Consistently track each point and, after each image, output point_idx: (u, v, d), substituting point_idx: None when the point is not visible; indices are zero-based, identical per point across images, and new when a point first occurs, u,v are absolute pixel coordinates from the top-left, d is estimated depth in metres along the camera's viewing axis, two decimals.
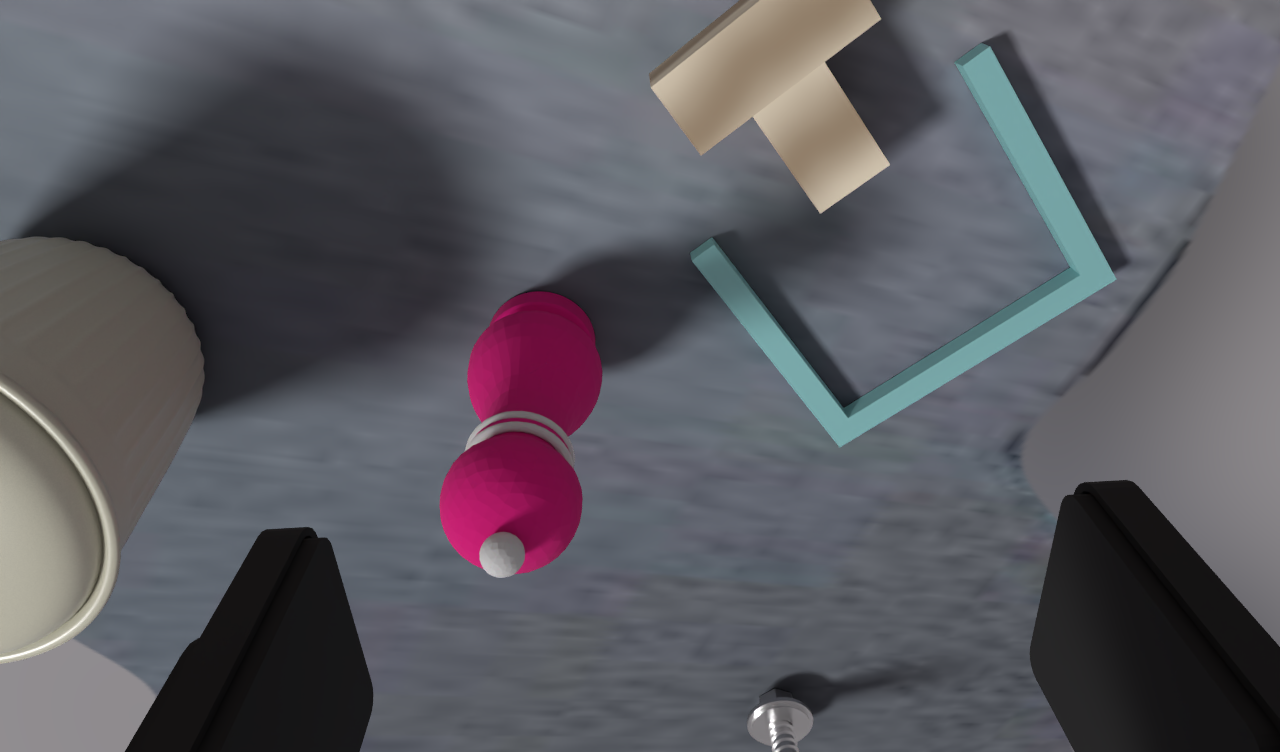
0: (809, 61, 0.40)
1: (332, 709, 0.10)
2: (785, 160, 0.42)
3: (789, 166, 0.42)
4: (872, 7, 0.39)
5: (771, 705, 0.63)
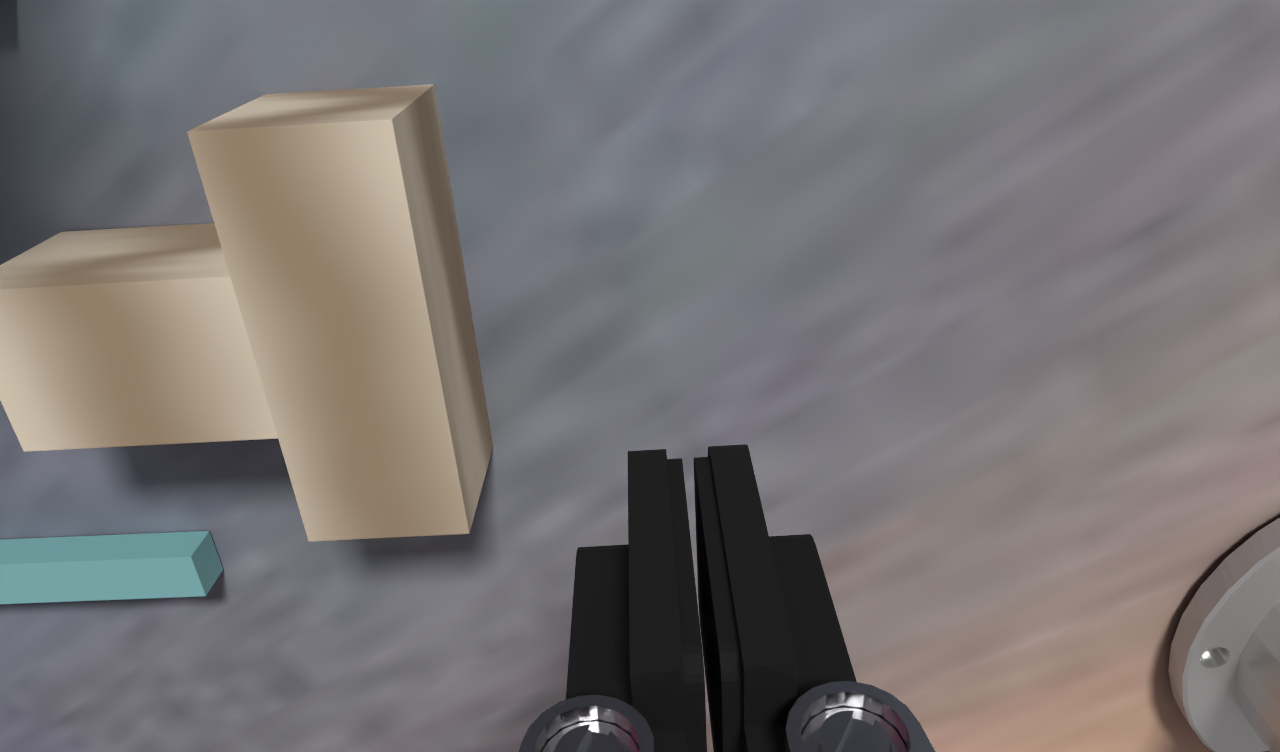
0: (291, 417, 0.20)
1: None
2: (105, 287, 0.18)
3: (88, 288, 0.18)
4: (334, 537, 0.21)
5: None
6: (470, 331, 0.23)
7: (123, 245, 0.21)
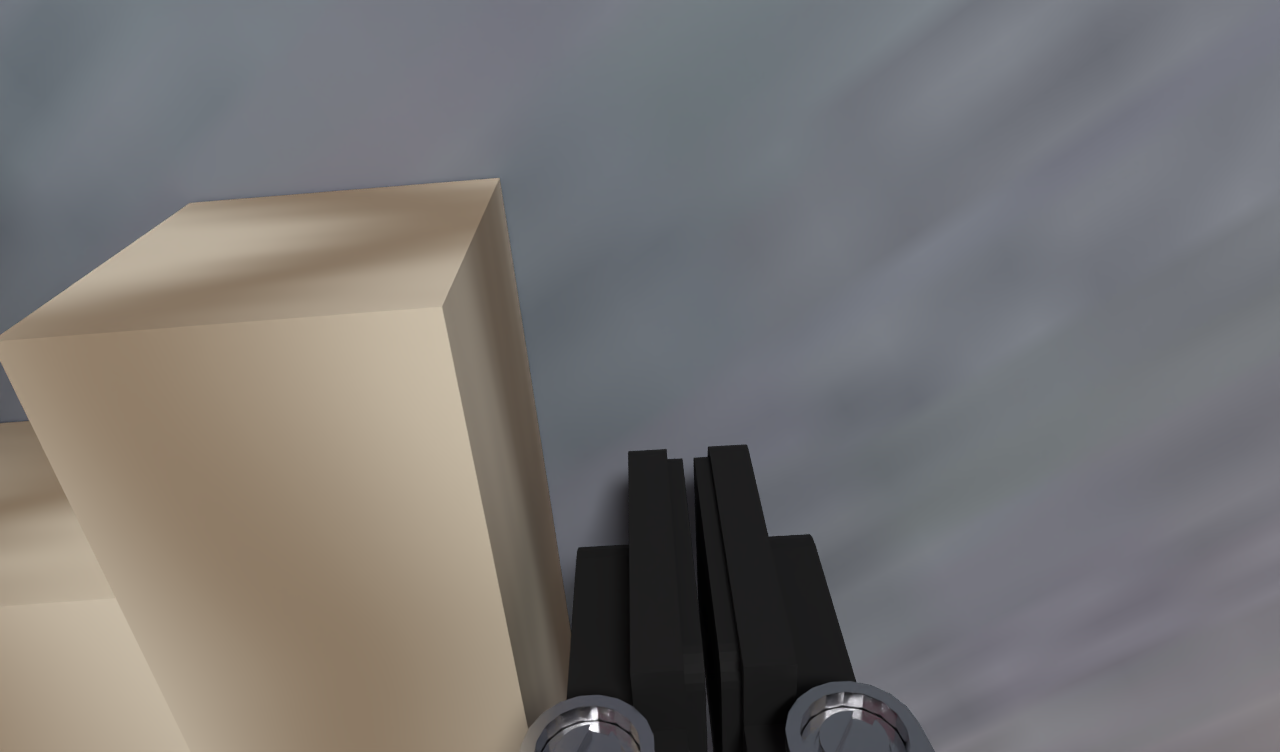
0: None
1: None
2: None
3: None
4: None
5: None
6: (556, 573, 0.14)
7: None
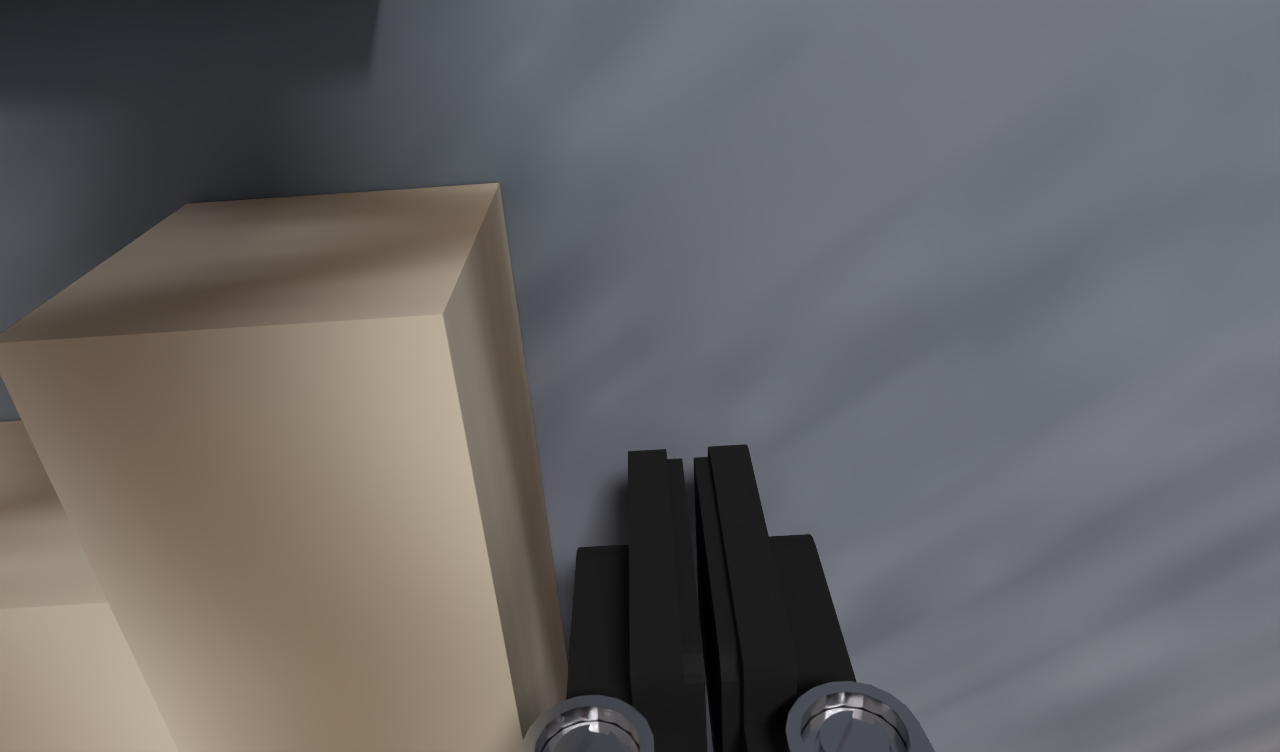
0: None
1: None
2: None
3: None
4: None
5: None
6: (550, 578, 0.14)
7: None
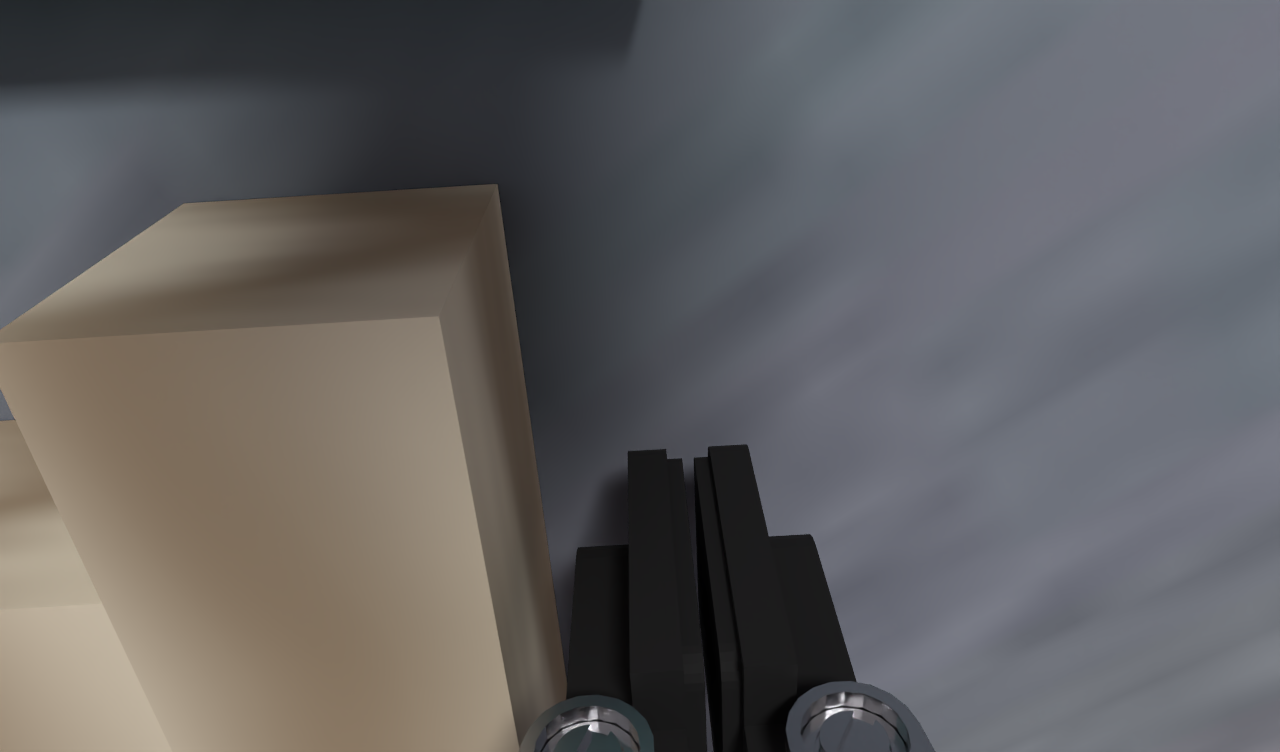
0: None
1: None
2: None
3: None
4: None
5: None
6: (547, 580, 0.14)
7: None
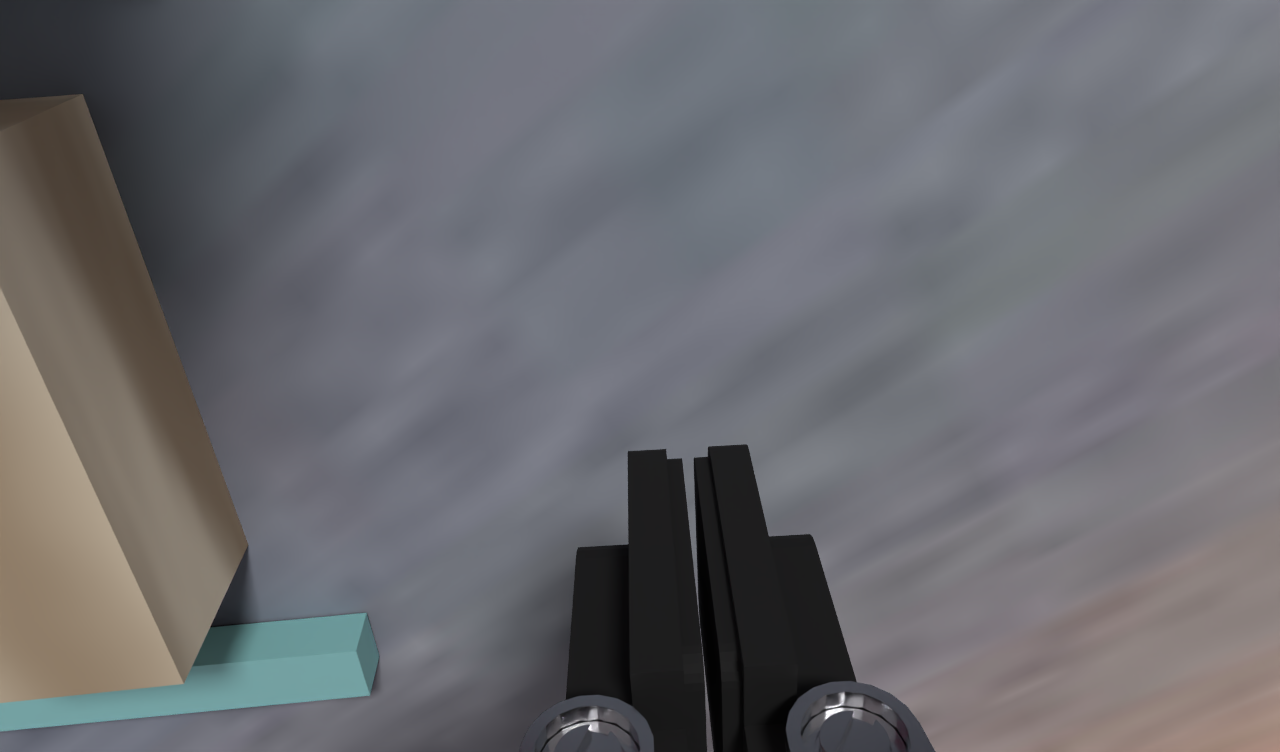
0: None
1: None
2: None
3: None
4: (0, 699, 0.16)
5: None
6: (187, 412, 0.17)
7: None
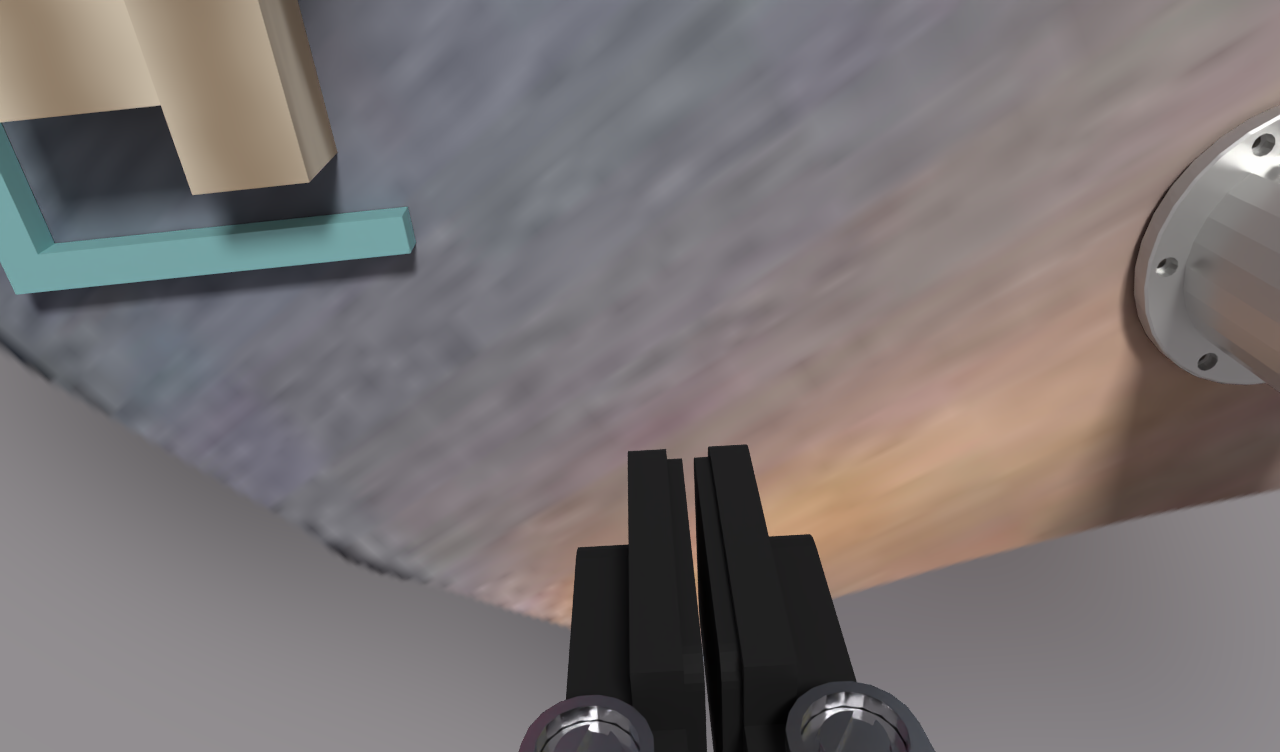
0: (168, 86, 0.28)
1: None
2: None
3: None
4: (211, 190, 0.30)
5: None
6: (306, 47, 0.31)
7: None
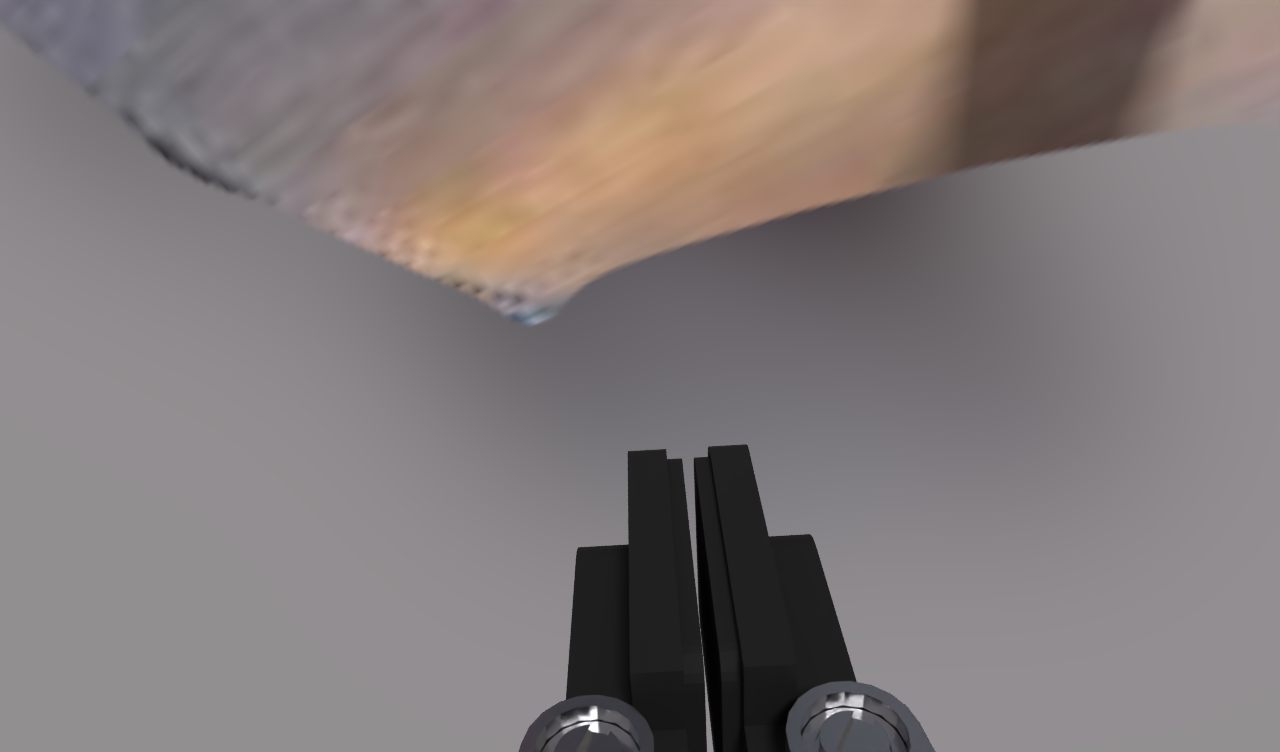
0: None
1: None
2: None
3: None
4: None
5: None
6: None
7: None
